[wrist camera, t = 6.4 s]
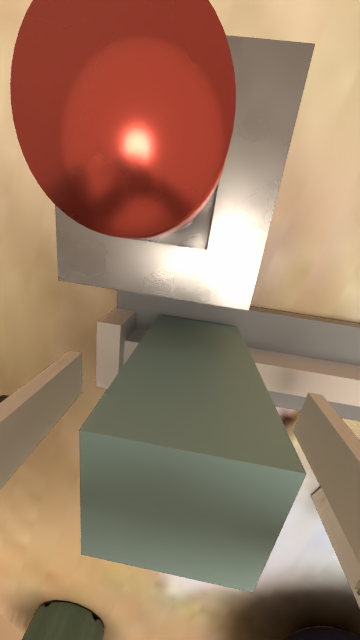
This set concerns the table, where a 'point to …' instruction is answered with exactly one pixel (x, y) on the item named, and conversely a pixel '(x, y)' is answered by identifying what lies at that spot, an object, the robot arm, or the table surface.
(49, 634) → the flower pot
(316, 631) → the globe
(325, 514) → the supplement box
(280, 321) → the rail
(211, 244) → the grey boxy piece
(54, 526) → the table surface
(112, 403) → the sage green rectangular prism
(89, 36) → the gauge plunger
